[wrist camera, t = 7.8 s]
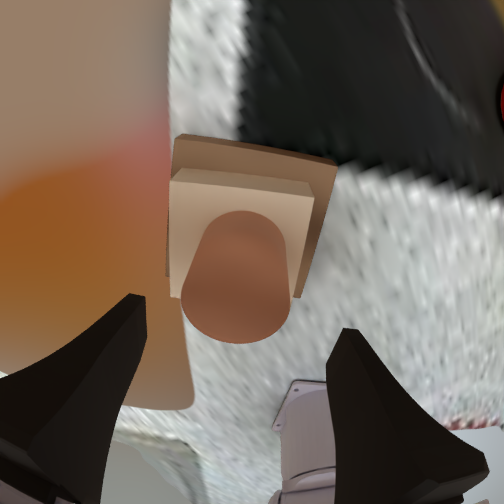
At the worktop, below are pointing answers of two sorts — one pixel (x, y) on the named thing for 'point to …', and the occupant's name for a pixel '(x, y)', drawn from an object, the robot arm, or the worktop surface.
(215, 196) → the cream slab
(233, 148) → the walnut base slab
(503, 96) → the beer can
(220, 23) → the worktop surface
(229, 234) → the terracotta cylinder
